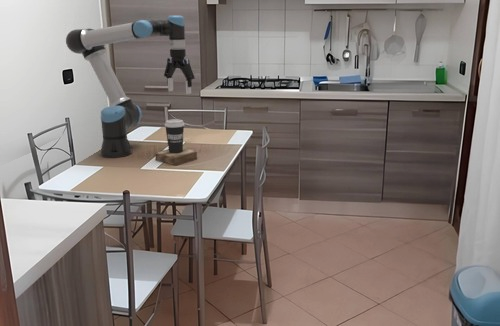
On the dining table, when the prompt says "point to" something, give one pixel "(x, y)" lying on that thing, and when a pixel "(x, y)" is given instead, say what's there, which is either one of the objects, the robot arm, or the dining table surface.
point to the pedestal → (176, 156)
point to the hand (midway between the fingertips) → (179, 92)
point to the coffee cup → (175, 135)
